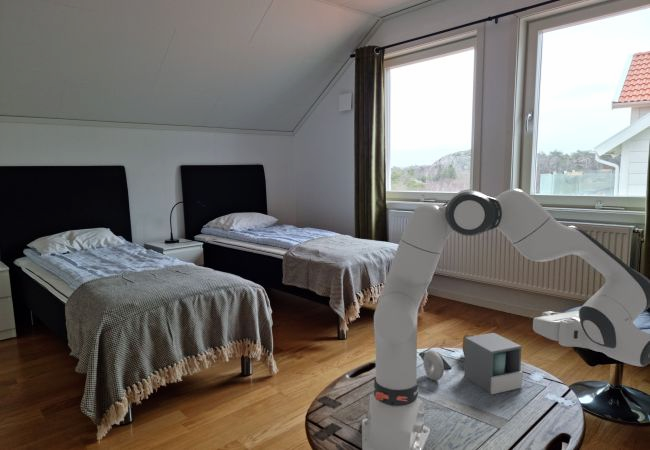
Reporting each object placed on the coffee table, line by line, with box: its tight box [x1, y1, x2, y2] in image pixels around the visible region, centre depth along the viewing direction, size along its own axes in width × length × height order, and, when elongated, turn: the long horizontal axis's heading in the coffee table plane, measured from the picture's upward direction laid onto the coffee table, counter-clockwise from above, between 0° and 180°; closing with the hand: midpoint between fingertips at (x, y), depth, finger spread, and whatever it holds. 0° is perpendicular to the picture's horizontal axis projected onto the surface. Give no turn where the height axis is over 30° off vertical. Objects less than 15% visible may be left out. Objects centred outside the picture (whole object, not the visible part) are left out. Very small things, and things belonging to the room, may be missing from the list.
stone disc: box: [462, 332, 478, 357], centre depth 170 cm, size 10×4×10 cm, turn 7°
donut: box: [422, 349, 445, 381], centre depth 155 cm, size 10×3×10 cm, turn 18°
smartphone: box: [418, 351, 452, 371], centre depth 170 cm, size 8×15×1 cm, turn 6°
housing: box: [463, 332, 522, 394], centre depth 153 cm, size 13×12×14 cm
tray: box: [490, 370, 524, 395], centre depth 152 cm, size 12×12×5 cm
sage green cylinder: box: [493, 352, 506, 377], centre depth 151 cm, size 5×5×10 cm
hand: (545, 314), depth 130 cm, fingers closed
